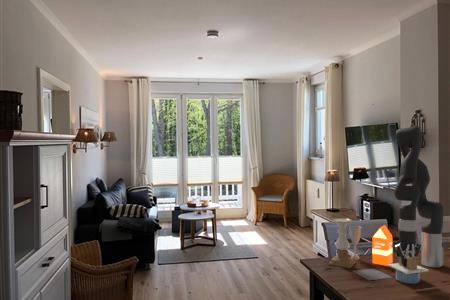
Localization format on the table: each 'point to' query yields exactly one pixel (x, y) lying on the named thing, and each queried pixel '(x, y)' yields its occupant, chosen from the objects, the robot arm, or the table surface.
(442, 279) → the table surface
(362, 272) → the mat
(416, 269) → the square lid with handle
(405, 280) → the bowl
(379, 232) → the orange juice
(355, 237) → the chalice
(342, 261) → the candle holder
